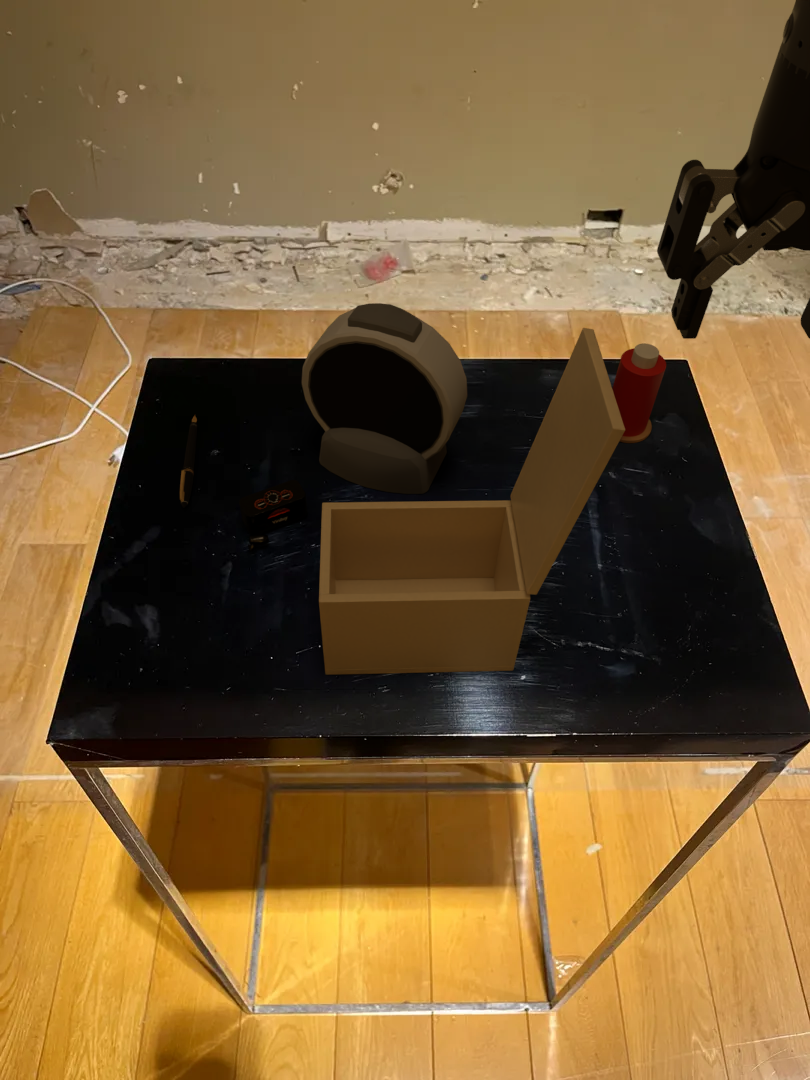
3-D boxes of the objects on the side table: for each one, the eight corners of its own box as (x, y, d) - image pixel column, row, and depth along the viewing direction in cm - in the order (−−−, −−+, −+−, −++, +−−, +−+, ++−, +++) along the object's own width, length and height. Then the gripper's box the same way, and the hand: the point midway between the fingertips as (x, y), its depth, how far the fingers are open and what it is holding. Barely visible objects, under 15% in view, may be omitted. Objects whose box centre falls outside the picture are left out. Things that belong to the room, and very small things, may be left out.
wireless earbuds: (233, 524, 83) (229, 502, 81) (298, 500, 86) (296, 478, 83) (250, 555, 81) (246, 533, 78) (317, 530, 83) (315, 508, 81)
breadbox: (325, 674, 72) (318, 602, 64) (327, 579, 79) (322, 502, 71) (513, 670, 73) (530, 598, 65) (499, 576, 80) (513, 499, 72)
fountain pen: (190, 419, 93) (188, 408, 92) (201, 418, 93) (199, 408, 92) (179, 512, 84) (176, 502, 83) (190, 512, 84) (188, 502, 83)
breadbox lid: (613, 428, 51) (626, 429, 52) (582, 327, 58) (593, 328, 58) (526, 594, 64) (536, 595, 65) (509, 495, 71) (519, 496, 71)
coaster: (652, 413, 96) (653, 411, 96) (648, 447, 92) (649, 445, 92) (601, 403, 97) (602, 401, 97) (595, 437, 93) (595, 434, 93)
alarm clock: (296, 466, 89) (281, 323, 75) (334, 409, 95) (327, 266, 81) (437, 508, 85) (450, 365, 72) (468, 445, 92) (484, 303, 78)
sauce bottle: (647, 413, 95) (671, 341, 88) (644, 440, 92) (668, 368, 85) (606, 405, 96) (626, 333, 89) (601, 432, 93) (621, 359, 86)
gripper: (741, 79, 38) (651, 368, 50) (1044, 83, 38) (880, 368, 51) (697, 21, 43) (625, 298, 55) (966, 25, 43) (835, 298, 56)
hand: (748, 331), depth 53 cm, fingers open, 7 cm apart
